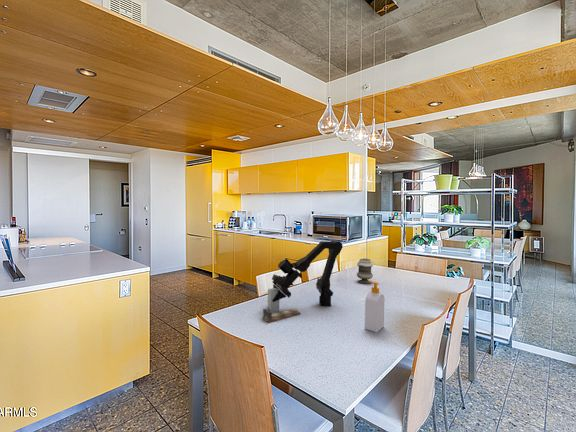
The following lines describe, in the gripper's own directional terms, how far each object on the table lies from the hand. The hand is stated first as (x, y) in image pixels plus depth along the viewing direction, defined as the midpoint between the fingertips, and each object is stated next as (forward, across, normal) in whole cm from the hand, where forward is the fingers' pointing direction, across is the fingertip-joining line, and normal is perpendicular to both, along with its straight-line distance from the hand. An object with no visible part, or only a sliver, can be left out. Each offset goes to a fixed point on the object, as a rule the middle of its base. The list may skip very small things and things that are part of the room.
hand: (271, 299), depth 162 cm
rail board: (+2, +9, +7) cm, 12 cm away
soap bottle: (-25, +36, +35) cm, 56 cm away
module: (+4, 0, +6) cm, 7 cm away
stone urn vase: (-56, -34, +65) cm, 92 cm away
